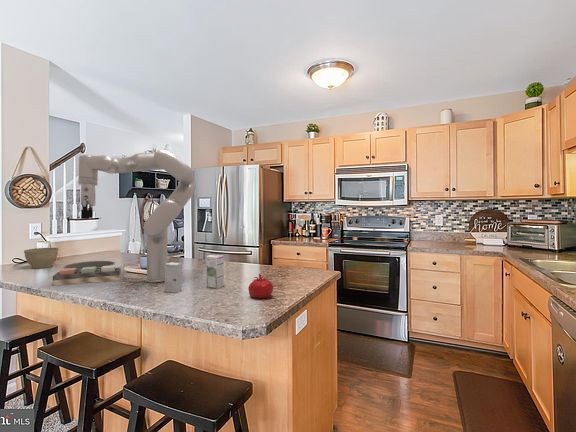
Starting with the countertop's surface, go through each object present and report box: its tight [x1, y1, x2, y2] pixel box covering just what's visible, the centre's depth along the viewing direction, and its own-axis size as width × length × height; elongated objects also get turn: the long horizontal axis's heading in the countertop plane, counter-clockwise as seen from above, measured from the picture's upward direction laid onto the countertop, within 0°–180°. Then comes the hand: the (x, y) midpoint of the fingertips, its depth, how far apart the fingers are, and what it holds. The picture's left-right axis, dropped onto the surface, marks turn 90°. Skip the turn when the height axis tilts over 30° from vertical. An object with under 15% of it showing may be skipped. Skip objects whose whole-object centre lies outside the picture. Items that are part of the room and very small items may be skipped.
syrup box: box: [206, 253, 225, 290], centre depth 142 cm, size 6×6×14 cm
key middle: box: [81, 267, 96, 273], centre depth 154 cm, size 6×6×2 cm
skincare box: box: [164, 261, 183, 294], centre depth 135 cm, size 6×4×12 cm
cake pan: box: [62, 260, 116, 271], centre depth 175 cm, size 25×25×4 cm
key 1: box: [59, 268, 76, 275], centre depth 150 cm, size 6×6×2 cm
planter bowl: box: [23, 247, 59, 269], centre depth 187 cm, size 16×16×11 cm
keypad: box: [52, 267, 122, 287], centre depth 154 cm, size 27×10×4 cm, turn 114°
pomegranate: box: [247, 273, 274, 299], centre depth 127 cm, size 10×10×9 cm
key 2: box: [101, 264, 116, 272], centre depth 157 cm, size 6×6×2 cm
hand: (87, 218), depth 146 cm, fingers open, 9 cm apart
